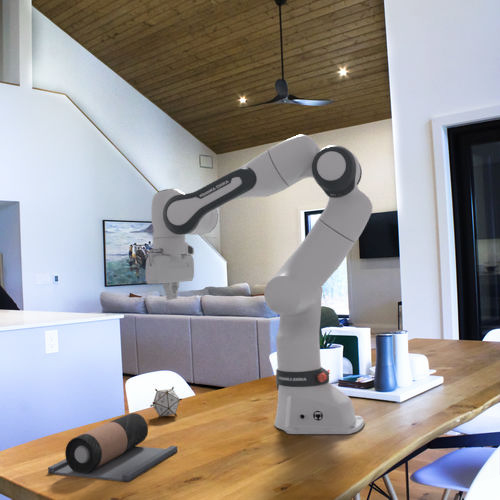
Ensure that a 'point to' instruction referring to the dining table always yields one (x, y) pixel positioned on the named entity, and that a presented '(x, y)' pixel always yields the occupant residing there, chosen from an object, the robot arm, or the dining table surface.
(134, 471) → the tray
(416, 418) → the dining table surface
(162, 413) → the game die
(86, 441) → the travel mug
